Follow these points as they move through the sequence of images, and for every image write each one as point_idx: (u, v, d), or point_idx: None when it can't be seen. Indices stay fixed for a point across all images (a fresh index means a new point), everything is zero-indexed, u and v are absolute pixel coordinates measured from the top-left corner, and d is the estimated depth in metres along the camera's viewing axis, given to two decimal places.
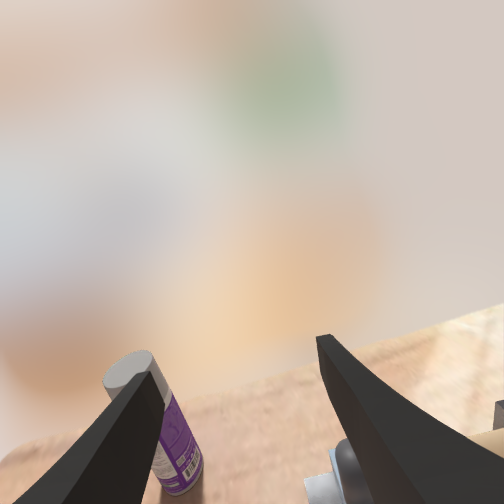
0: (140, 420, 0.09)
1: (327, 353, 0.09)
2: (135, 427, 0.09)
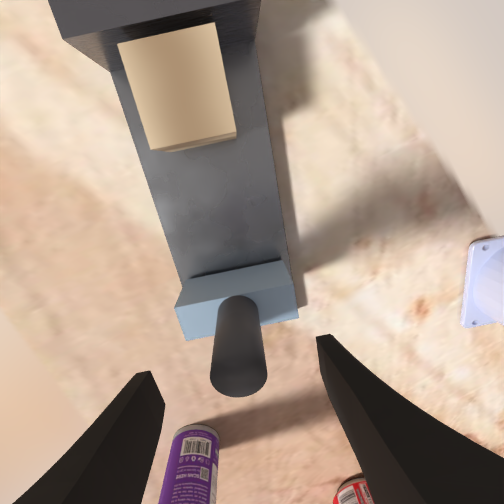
0: (140, 420, 0.09)
1: (327, 353, 0.09)
2: (135, 427, 0.09)
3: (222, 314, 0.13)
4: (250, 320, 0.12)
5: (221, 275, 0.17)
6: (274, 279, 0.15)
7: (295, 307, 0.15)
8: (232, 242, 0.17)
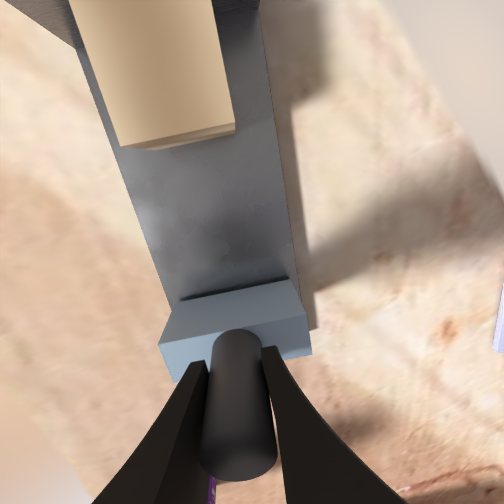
0: (202, 407, 0.09)
1: (263, 366, 0.09)
2: (200, 414, 0.09)
3: (217, 357, 0.10)
4: (253, 367, 0.10)
5: (217, 298, 0.14)
6: (282, 306, 0.12)
7: (308, 342, 0.12)
8: (230, 258, 0.15)
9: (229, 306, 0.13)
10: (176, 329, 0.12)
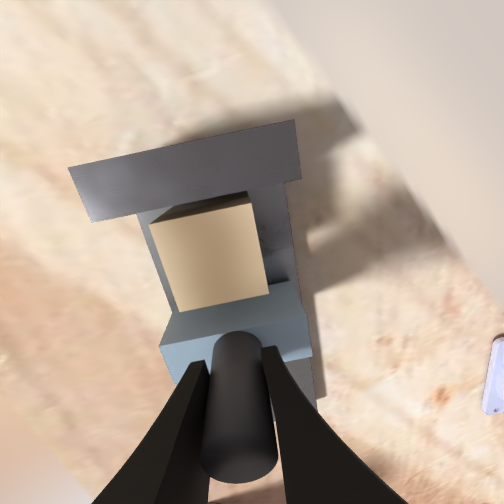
0: (202, 407, 0.09)
1: (264, 366, 0.09)
2: (200, 414, 0.09)
3: (218, 359, 0.10)
4: (254, 369, 0.10)
5: None
6: (282, 308, 0.12)
7: (308, 344, 0.12)
8: None
9: (229, 308, 0.13)
10: (177, 331, 0.12)
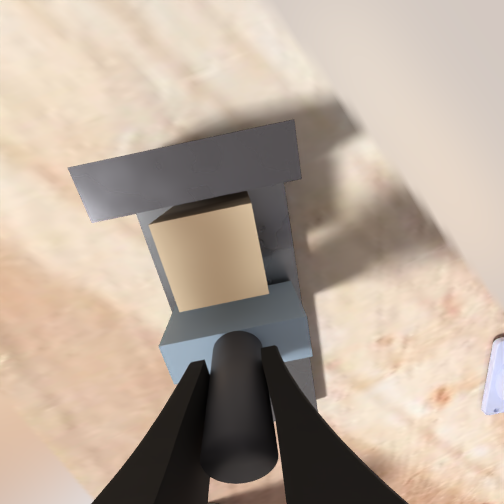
0: (202, 407, 0.09)
1: (263, 366, 0.09)
2: (200, 414, 0.09)
3: (218, 359, 0.10)
4: (254, 369, 0.10)
5: None
6: (282, 308, 0.12)
7: (308, 344, 0.12)
8: None
9: (230, 308, 0.13)
10: (177, 331, 0.12)
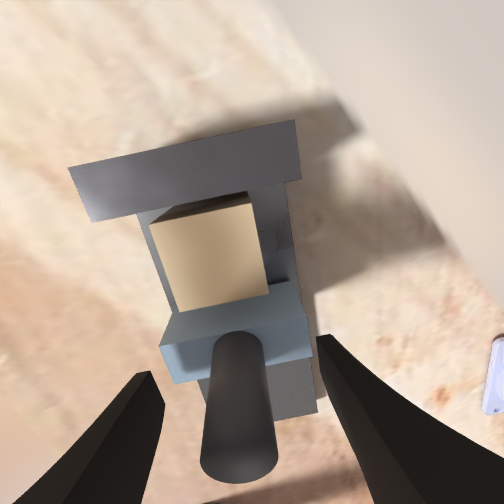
0: (140, 420, 0.09)
1: (327, 353, 0.09)
2: (135, 427, 0.09)
3: (218, 359, 0.10)
4: (254, 370, 0.10)
5: None
6: (282, 308, 0.12)
7: (308, 344, 0.12)
8: None
9: (230, 308, 0.13)
10: (177, 331, 0.12)
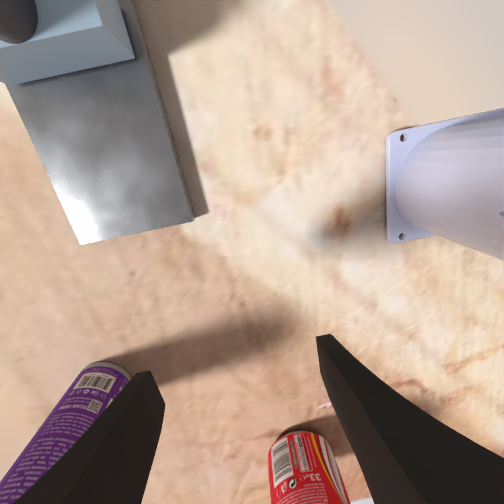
0: (140, 420, 0.09)
1: (327, 353, 0.09)
2: (135, 427, 0.09)
3: None
4: None
5: None
6: None
7: (92, 1, 0.10)
8: (99, 118, 0.15)
9: None
10: None
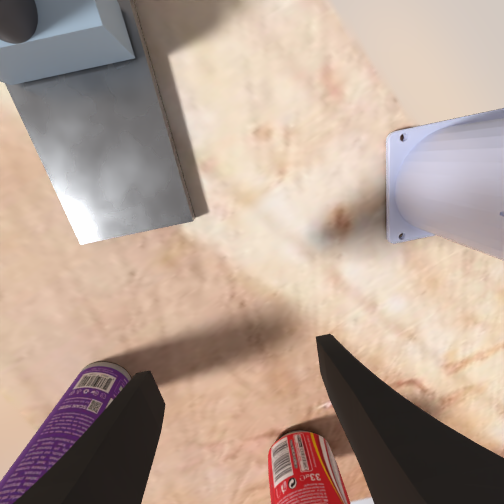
0: (140, 420, 0.09)
1: (327, 353, 0.09)
2: (135, 427, 0.09)
3: None
4: None
5: None
6: None
7: (92, 1, 0.10)
8: (99, 118, 0.15)
9: None
10: None
